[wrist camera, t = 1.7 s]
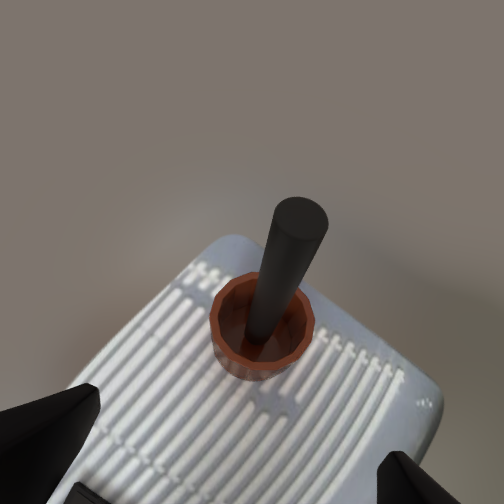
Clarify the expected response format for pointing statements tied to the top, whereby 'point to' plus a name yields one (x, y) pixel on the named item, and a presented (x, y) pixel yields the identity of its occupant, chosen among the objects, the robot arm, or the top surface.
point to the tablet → (83, 496)
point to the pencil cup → (243, 352)
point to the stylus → (284, 263)
